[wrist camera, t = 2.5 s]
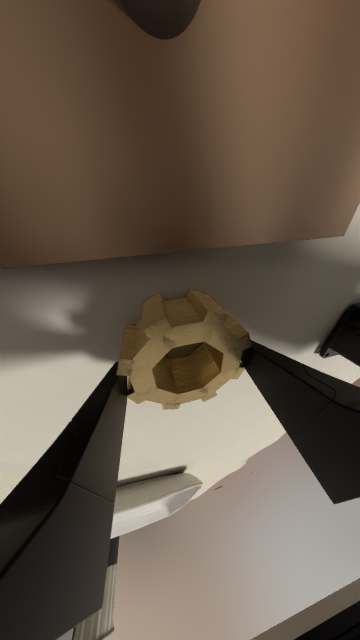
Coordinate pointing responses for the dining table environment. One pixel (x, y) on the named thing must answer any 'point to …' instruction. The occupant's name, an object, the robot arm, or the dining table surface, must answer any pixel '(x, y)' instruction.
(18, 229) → the gear board
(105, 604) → the milk frother
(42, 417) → the dining table surface
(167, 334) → the wooden gear
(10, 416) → the dining table surface
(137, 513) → the square plate
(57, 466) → the robot arm
